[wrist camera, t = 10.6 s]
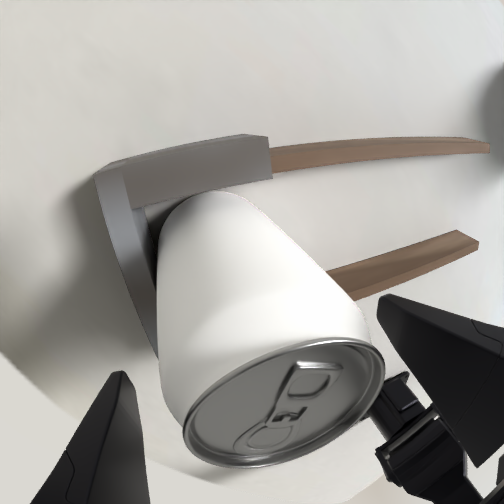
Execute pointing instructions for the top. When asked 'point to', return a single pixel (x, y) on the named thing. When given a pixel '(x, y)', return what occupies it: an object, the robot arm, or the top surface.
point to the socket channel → (252, 170)
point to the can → (255, 338)
